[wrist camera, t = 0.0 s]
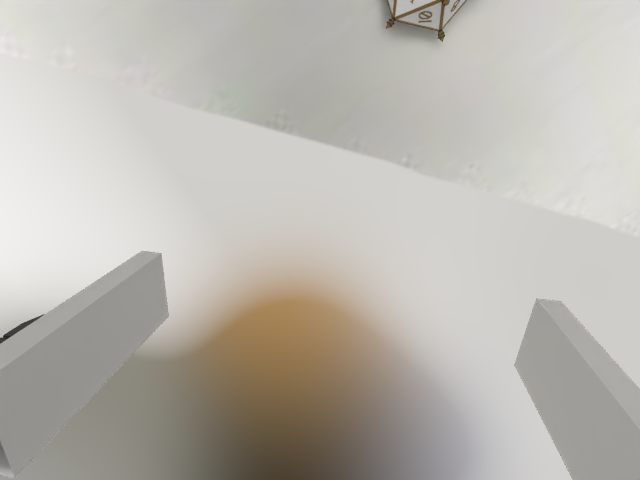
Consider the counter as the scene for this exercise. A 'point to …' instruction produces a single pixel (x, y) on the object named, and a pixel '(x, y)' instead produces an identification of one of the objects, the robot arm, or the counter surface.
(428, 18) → the game die
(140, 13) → the counter surface
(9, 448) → the robot arm
